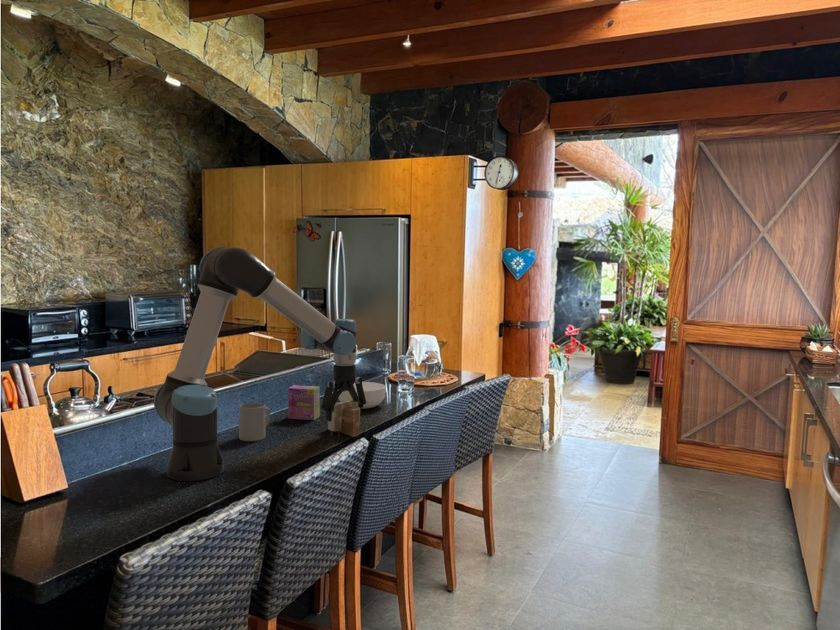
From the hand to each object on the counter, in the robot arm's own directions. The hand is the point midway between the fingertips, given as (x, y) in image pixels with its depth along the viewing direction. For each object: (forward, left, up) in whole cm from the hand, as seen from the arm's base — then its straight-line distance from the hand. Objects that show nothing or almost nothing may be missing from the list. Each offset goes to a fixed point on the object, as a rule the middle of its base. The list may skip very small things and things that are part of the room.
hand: (344, 427), depth 222 cm
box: (0, +25, -2) cm, 25 cm away
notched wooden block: (0, 0, -2) cm, 2 cm away
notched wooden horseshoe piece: (0, 0, 0) cm, 0 cm away
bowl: (+28, +27, -2) cm, 39 cm away
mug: (-26, +13, -2) cm, 30 cm away
